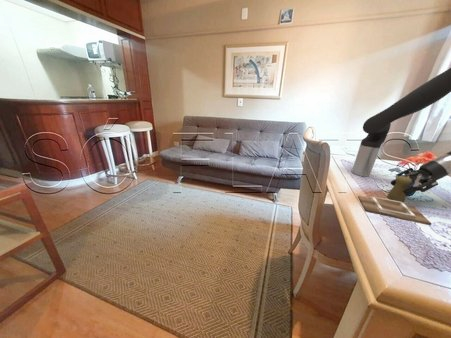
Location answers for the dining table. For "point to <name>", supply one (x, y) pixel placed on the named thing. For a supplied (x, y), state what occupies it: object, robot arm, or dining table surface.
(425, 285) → the dining table surface
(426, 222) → the board
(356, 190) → the dining table surface
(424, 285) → the dining table surface
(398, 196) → the olive game pawn
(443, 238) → the dining table surface
